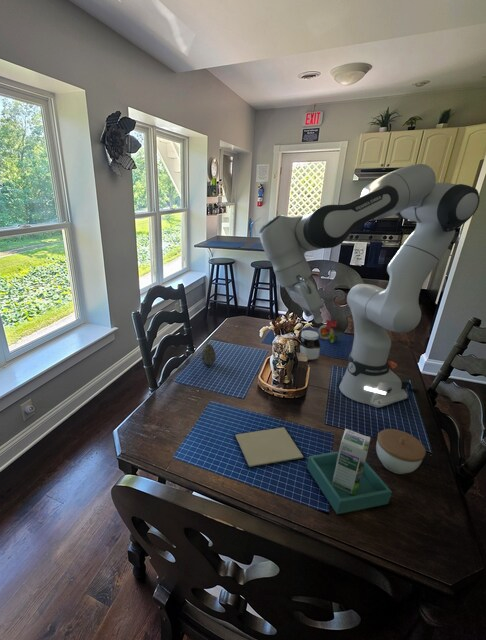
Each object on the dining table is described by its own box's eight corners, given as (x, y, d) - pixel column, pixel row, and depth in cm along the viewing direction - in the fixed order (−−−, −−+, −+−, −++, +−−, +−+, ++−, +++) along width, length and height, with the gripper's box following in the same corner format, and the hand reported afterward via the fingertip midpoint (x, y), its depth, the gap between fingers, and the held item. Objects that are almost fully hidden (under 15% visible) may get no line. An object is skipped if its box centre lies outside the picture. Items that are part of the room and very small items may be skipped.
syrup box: (330, 485, 81) (340, 441, 75) (336, 469, 85) (345, 426, 80) (355, 497, 78) (367, 452, 72) (359, 480, 82) (371, 436, 77)
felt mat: (283, 428, 101) (284, 427, 101) (303, 457, 90) (303, 456, 90) (235, 435, 98) (235, 434, 98) (249, 467, 87) (249, 465, 87)
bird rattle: (319, 345, 156) (339, 343, 149) (313, 324, 154) (332, 321, 148) (323, 340, 160) (342, 338, 154) (317, 319, 159) (336, 316, 153)
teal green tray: (351, 459, 89) (354, 448, 88) (388, 503, 77) (392, 491, 75) (306, 467, 87) (308, 456, 85) (337, 514, 75) (340, 502, 73)
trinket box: (399, 487, 81) (409, 459, 77) (363, 456, 90) (370, 430, 86) (427, 472, 85) (437, 445, 81) (389, 444, 94) (397, 419, 90)
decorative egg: (209, 370, 133) (209, 348, 129) (198, 365, 137) (198, 344, 133) (218, 364, 137) (218, 343, 133) (207, 359, 141) (207, 339, 137)
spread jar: (320, 362, 137) (325, 338, 132) (296, 365, 135) (299, 340, 131) (306, 349, 148) (310, 326, 143) (283, 351, 146) (286, 328, 142)
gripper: (316, 271, 77) (338, 321, 79) (295, 267, 97) (314, 307, 99) (291, 283, 78) (314, 332, 80) (276, 277, 98) (295, 316, 100)
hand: (314, 318), depth 90 cm, fingers open, 8 cm apart
